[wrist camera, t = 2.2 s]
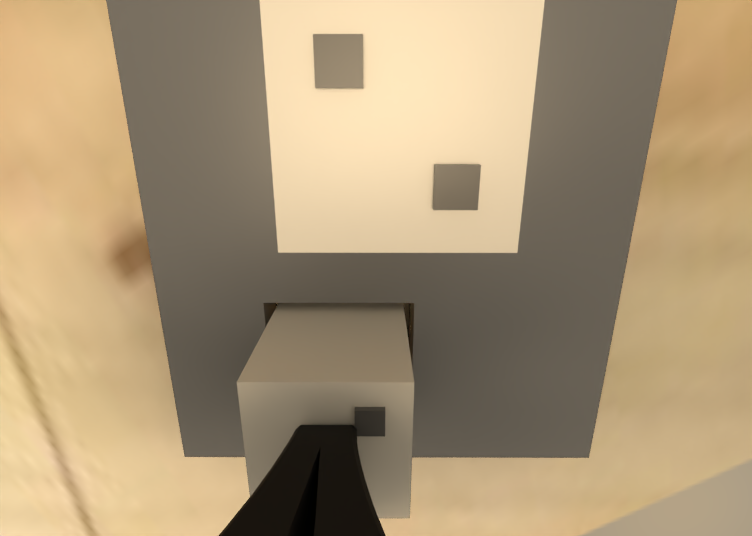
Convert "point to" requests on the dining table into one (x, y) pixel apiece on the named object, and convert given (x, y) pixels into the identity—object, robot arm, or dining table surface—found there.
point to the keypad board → (395, 270)
